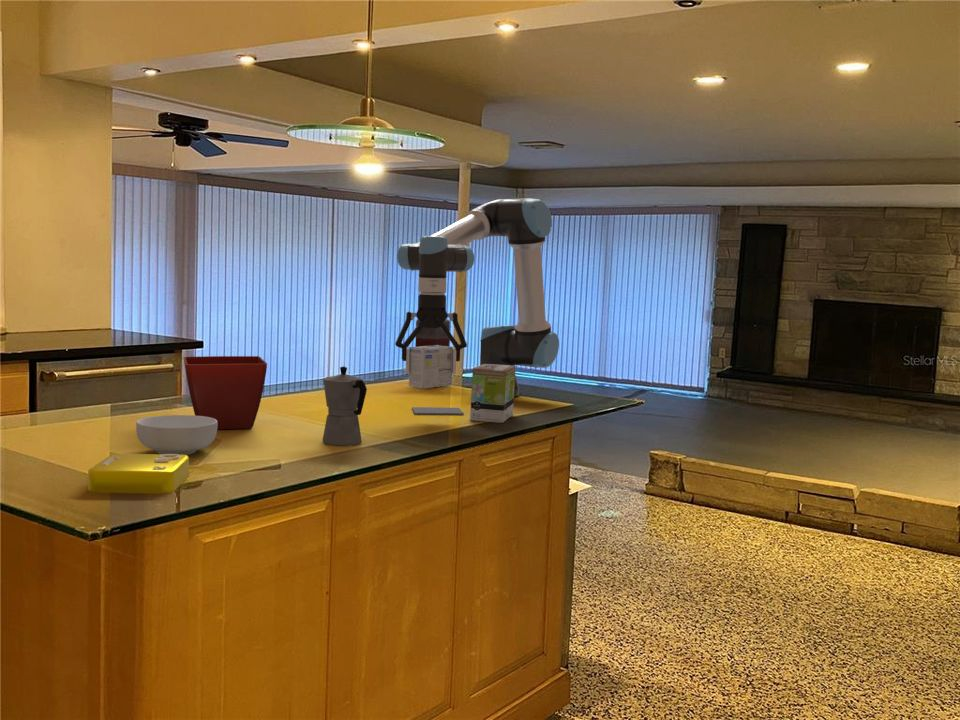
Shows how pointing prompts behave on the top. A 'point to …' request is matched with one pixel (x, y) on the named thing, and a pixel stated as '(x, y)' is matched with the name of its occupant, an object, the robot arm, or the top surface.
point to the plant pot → (226, 388)
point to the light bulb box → (430, 366)
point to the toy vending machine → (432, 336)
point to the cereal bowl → (176, 433)
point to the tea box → (492, 393)
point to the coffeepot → (343, 409)
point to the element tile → (139, 473)
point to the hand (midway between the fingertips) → (430, 373)
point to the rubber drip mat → (436, 411)
